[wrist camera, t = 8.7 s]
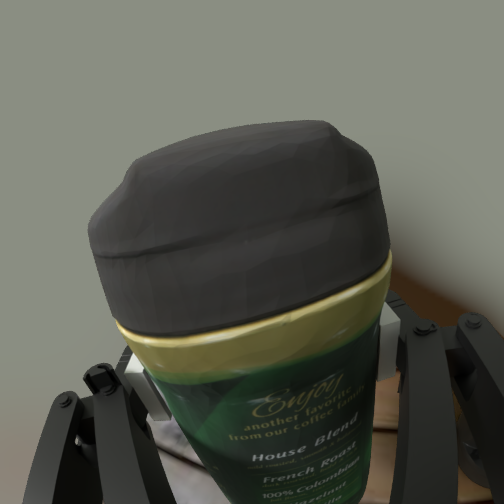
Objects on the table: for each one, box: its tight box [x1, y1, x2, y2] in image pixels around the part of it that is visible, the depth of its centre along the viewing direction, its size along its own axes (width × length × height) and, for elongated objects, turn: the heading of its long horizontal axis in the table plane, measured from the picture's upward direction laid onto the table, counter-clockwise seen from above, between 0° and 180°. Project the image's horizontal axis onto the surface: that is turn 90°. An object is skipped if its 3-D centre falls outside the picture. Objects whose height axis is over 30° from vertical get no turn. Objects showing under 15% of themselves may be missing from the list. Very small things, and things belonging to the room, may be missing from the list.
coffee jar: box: [88, 120, 392, 504], centre depth 11 cm, size 10×8×19 cm
